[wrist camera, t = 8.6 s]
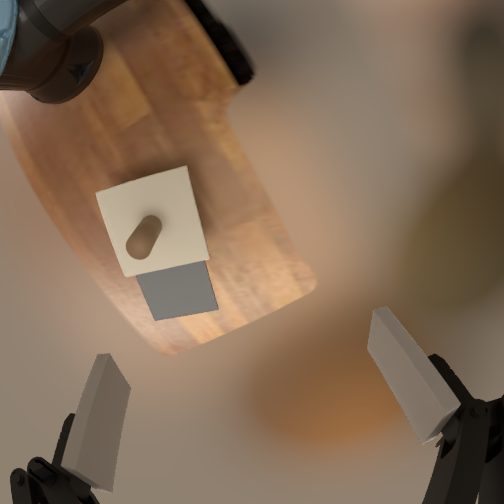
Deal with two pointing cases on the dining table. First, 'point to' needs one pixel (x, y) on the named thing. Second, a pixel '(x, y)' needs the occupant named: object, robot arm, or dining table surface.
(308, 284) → the dining table surface
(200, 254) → the lid
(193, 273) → the mat
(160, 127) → the dining table surface
